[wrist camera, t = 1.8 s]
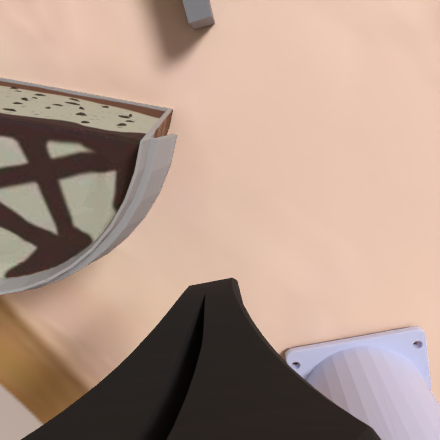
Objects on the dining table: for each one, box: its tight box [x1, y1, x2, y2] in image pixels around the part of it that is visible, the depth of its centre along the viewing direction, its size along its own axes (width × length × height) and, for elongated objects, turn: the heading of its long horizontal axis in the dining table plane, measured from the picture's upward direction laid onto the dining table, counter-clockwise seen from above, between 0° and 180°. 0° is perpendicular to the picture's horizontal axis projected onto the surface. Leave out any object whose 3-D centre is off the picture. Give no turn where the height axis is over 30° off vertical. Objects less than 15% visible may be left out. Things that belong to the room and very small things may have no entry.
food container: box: [0, 78, 177, 295], centre depth 15 cm, size 12×6×10 cm, turn 80°
